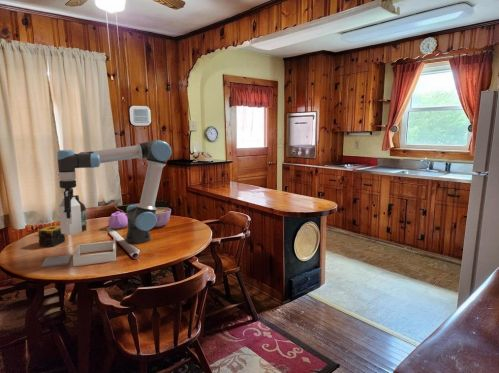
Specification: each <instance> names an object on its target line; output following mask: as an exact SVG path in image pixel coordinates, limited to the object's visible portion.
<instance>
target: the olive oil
mask: <svg viewBox="0 0 499 373" xmlns="http://www.w3.org/2000/svg"><path fill="white" fill-rule="evenodd" d="M73 197H75V199H76V200H77V201H78V203H79V204H80V210H81V224H82V232H85V231H87V224H88V223H87V208H86V205H85V203H83V202H81V200H80V196H79V195H78V194H77V195H76V194H75V195H73Z"/></svg>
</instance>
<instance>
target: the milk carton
mask: <svg viewBox="0 0 499 373" xmlns="http://www.w3.org/2000/svg"><path fill="white" fill-rule="evenodd" d="M64 210H65V208H64V198H62V201H61V202H60V203H59V205H58V215H59V226H60V228H61V234H64V235H67V236H73V235H77V234H79V233H82V232H83V231H82V224H81V210H80V204H79V203H78V201H77V200H76V199H75V197H72V199H71V211H72V224H68V225H66V215H65V212H63V211H64Z"/></svg>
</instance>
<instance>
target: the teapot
mask: <svg viewBox="0 0 499 373" xmlns="http://www.w3.org/2000/svg"><path fill="white" fill-rule="evenodd" d="M108 226H109V228H110V227H111V228H110V229H112V228H113V229H112V230H116V229H117V230H118V229H125V228H126V227H128V219H127V214H126V213H125V212H123V211H122V212H121V211H119V210H118V211H115V212H113V213H111V215H110V217H109V219H108Z"/></svg>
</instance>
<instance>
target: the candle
mask: <svg viewBox="0 0 499 373" xmlns="http://www.w3.org/2000/svg"><path fill="white" fill-rule="evenodd" d="M37 234H38V245H39V246H40V247H51V248H52V247H56V246H58V245H61V244H63V243H65V242H66V238H65V234H61V228H60V225H49V226H46V227H43V228H40V229H37Z"/></svg>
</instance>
